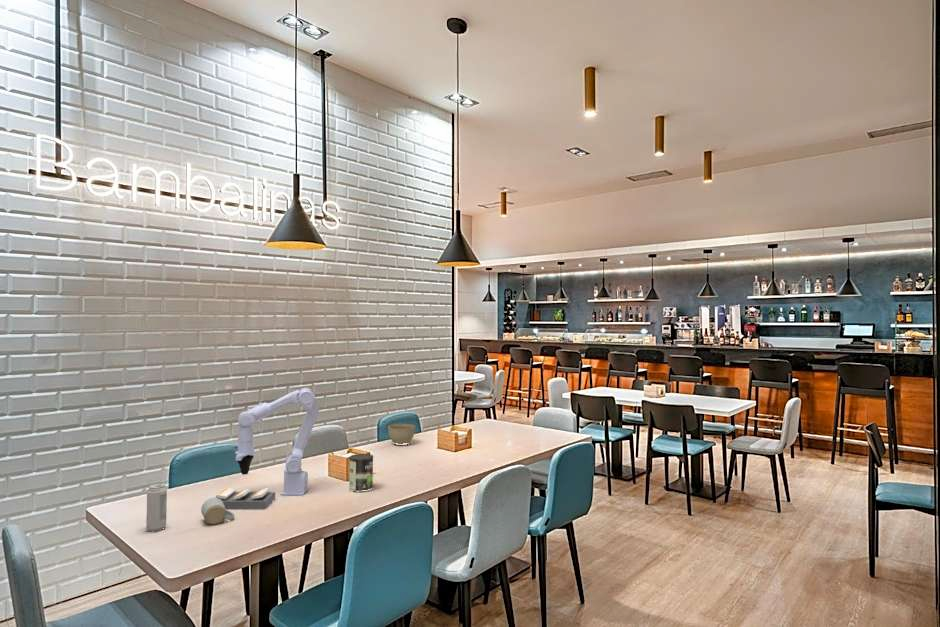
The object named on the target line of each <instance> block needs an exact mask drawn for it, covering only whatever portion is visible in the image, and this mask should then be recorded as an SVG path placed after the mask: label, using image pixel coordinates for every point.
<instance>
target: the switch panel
mask: <svg viewBox="0 0 940 627" xmlns="http://www.w3.org/2000/svg"><path fill="white" fill-rule="evenodd" d="M240 492H241V491H235V493H233V494H232V495H231V496H229V497H228V498H227V499H220V498H219V499H220V500H222V502H223V503H224V506H225V509H226V510H266V509H267V508H268V507H269V506H270V505H271V504H272V503H273V502H274V501H275V500H276V491H269V492H267V493H266V494H265V495H264V496H263V497H260V498H258V499H257V498H256V499H252V496H253V495H254V494H255V493H257V492H258V491H250V492H249V493H247V494H246V495H245V496H243V497H241V498H240V499H236V500H234V498H233V497H235V496H236V495H237V494H238V493H240ZM214 498H218V497H216V496H215V497H214ZM274 499H275V500H274ZM273 500H274V501H273ZM272 501H273V502H272ZM266 507H267V508H266ZM265 508H266V509H265Z"/></svg>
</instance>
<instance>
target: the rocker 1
mask: <svg viewBox="0 0 940 627" xmlns="http://www.w3.org/2000/svg"><path fill="white" fill-rule="evenodd" d="M235 492H237V490H236V489H235V488H229V487H225V488H223V489H222V490H221V491H219V492H218V493H216V495H215V497H218V498H220V499H227V498H228V497H229V496H231V495H232V494H233V493H235Z"/></svg>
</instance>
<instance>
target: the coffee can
mask: <svg viewBox="0 0 940 627" xmlns="http://www.w3.org/2000/svg"><path fill="white" fill-rule="evenodd" d="M348 457H349V458H348V459H349V464H348V465H349V467H348V468H349V471H348V472H349V476H348V477H349V479H348V480H349V482H348V490H349V489H350V490H353V491H362V490H368V489H371V488H372V487H373V488H374V486H373V485H374V481H373V480H374V478H373V477H374V455H373V454H370V453H359V454H358V453H356V454H352V455H350V456H348ZM350 490H349V491H350Z"/></svg>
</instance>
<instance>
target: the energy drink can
mask: <svg viewBox="0 0 940 627" xmlns="http://www.w3.org/2000/svg"><path fill="white" fill-rule="evenodd" d="M167 495H168V488H167V487H166V484H165V483H154V484H151V485H149V486H148V489H147V492H146V522H145V523H146V526H145V527H146V529H147V530H148V532H150V531H155V532H159V530H160V531H162V529H163V528H164V529H165V527H166V526H167V513H168V512H167V511H168V510H167V509H168V508H167V507H168V506H167V504H168V503H167V501H168V500H167V499H168V498H167V497H168V496H167ZM164 529H163V530H164Z"/></svg>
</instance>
